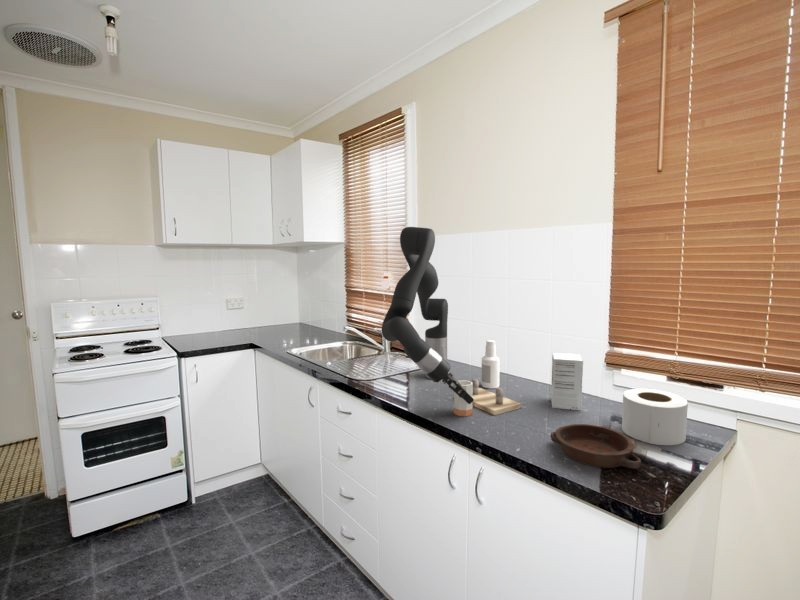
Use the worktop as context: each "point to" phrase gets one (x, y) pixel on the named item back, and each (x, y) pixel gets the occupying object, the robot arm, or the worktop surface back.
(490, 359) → the spray bottle
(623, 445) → the dish
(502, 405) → the pin board
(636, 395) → the white paper roll
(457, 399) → the sleeve
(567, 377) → the supplement box
